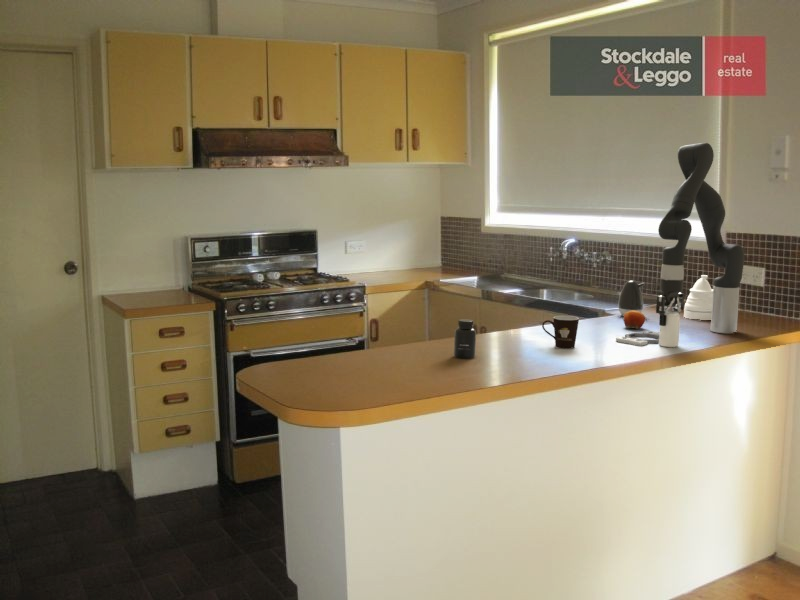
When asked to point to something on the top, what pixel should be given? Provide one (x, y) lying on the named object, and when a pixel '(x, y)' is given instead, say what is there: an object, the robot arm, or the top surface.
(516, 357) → the top surface
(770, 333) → the top surface
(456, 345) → the supplement bottle
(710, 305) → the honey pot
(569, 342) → the coffee mug
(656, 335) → the octagonal ring bracket
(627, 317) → the fruit
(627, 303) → the pump dispenser
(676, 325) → the can
